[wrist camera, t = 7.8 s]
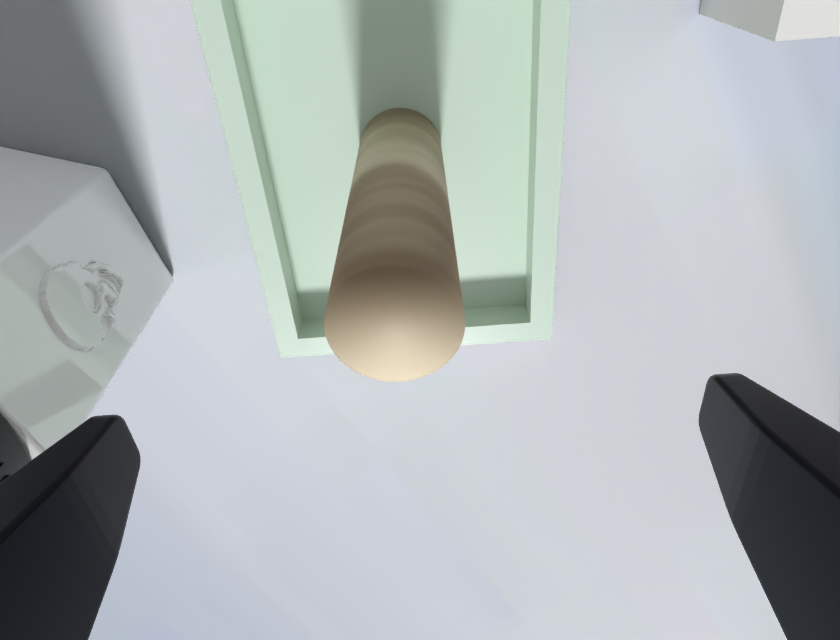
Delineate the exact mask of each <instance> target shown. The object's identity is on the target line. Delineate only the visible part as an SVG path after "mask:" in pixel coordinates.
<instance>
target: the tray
mask: <svg viewBox="0 0 840 640" xmlns="http://www.w3.org/2000/svg"><path fill="white" fill-rule="evenodd" d="M190 3H191V7H192V11H193V15H194V19H195V23H196V27H197V31H198V35H199V38H200V42H201V46H202V50H203V54H204V58H205V62H206V66H207V70H208V74H209V78H210V82H211V86H212V90H213V94H214V97H215V101H216V105H217V109H218V113H219V117H220V121H221V125H222V129H223V133H224V137H225V141H226V145H227V149H228V153H229V157H230V160H231V164H232V168H233V172H234V176H235V180H236V184H237V188H238V192H239V196H240V200H241V204H242V208H243V212H244V216H245V220H246V223H247V227H248V231H249V235H250V239H251V243H252V247H253V251H254V255H255V259H256V263H257V267H258V271H259V275H260V279H261V283H262V286H263V290H264V294H265V298H266V302H267V306H268V310H269V314H270V318H271V322H272V326H273V330H274V334H275V338H276V342H277V346H278V349H279V353H280V357H281V358H285V357H300V356H314V355H329V354H334V352H333V351H332V349H331V348H330V346H329V344H328V342H327V339H326V336H325V332H324V314H325V309H326V304H327V299H328V294H329V290H330V285H331V280H332V275H333V270H334V265H335V261H336V256H337V251H338V246H339V241H340V237H341V232H342V227H343V222H344V217H345V212H346V208H347V203H348V198H349V193H350V188H351V183H352V179H353V174H354V169H355V164H356V159H357V155H358V150H359V145H360V140H361V136H362V133H363V131H364V129H365V127H366V125H367V124H368V123H369V121H370V120H371V119H372V118H374V117H375V116H376V115H377V114H379V113H381V112H383V111H385V110H388V109H392V108H408V109H412V110H415V111H417V112H419V113H421V114H423V115H424V116H425V117H427V118H428V119H429V120H430V121H431V122H432V124H433V125H434V126H435V128H436V130H437V132H438V134H439V137H440V141H441V148H442V155H443V163H444V170H445V177H446V184H447V192H448V199H449V206H450V213H451V221H452V228H453V235H454V243H455V250H456V257H457V264H458V272H459V279H460V286H461V293H462V301H463V308H464V315H465V332H464V337H463V340H462V343H461V345H474V344H489V343H504V342H518V341H533V340H547V339H552V326H553V308H554V291H555V273H556V256H557V239H558V221H559V204H560V187H561V169H562V152H563V135H564V117H565V100H566V83H567V65H568V48H569V31H570V13H571V0H190Z"/></svg>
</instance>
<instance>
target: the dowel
mask: <svg viewBox="0 0 840 640" xmlns="http://www.w3.org/2000/svg"><path fill="white" fill-rule="evenodd" d="M324 332H325V336H326V339H327V342H328V344H329V346H330V348H331V349H332V351H333V352H334V354H335V355H336V356H337V357H338V359H339V360H340V361H342V362H343V363H344V364H345V365H346V366H348V367H349V368H350V369H352V370H354V371H355V372H357V373H359V374H361V375H364V376H366V377H369V378H372V379H376V380H381V381H390V382H401V381H410V380H414V379H418V378H421V377H424V376H427V375H429V374H431V373H433V372H435V371H437V370H438V369H440V368H441V367H443V366H444V365H445V364H446V363H448V362H449V361H450V359H451V358H452V357H453V356H454V355H455V353H456V352H457V351H458V349H459V347H460V345H461V343H462V340H463V337H464V332H465V315H464V308H463V301H462V293H461V286H460V279H459V272H458V264H457V257H456V250H455V243H454V235H453V228H452V221H451V213H450V206H449V199H448V192H447V184H446V177H445V170H444V163H443V155H442V148H441V141H440V137H439V134H438V132H437V130H436V128H435V126H434V125H433V124H432V122H431V121H430V120H429V119H428V118H427V117H425V116H424V115H423V114H421V113H419V112H417V111H415V110H412V109H408V108H392V109H388V110H385V111H383V112H381V113H379V114H377V115H376V116H375V117H374V118H372V119H371V120H370V121H369V123H368V124H367V125H366V127H365V129H364V131H363V133H362V136H361V140H360V145H359V150H358V155H357V159H356V164H355V169H354V174H353V179H352V183H351V188H350V193H349V198H348V203H347V208H346V212H345V217H344V222H343V227H342V232H341V237H340V241H339V246H338V251H337V256H336V261H335V265H334V270H333V275H332V280H331V285H330V290H329V294H328V299H327V304H326V309H325V314H324Z"/></svg>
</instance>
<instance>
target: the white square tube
mask: <svg viewBox="0 0 840 640" xmlns="http://www.w3.org/2000/svg"><path fill="white" fill-rule="evenodd" d="M699 14H701V15H704V16H706V17H709V18H712V19H715V20H717V21H720V22H723V23H726V24H728V25H731V26H734V27H737V28H739V29H742V30H745V31H748V32H750V33H753V34H756V35H759V36H761V37H764V38H767V39H770V40H772V41H786V40H799V39H811V38H823V37H835V36H840V0H701V5H700V11H699Z"/></svg>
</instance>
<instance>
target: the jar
mask: <svg viewBox="0 0 840 640" xmlns="http://www.w3.org/2000/svg"><path fill="white" fill-rule="evenodd" d="M172 285H173V278H172V276H171V274H170V273H169V271H168V269H167V268H166V266H165V264H164V263H163V261H162V260H161V258H160V256H159V255H158V253H157V251H156V250H155V248H154V246H153V245H152V243H151V242H150V240H149V238H148V237H147V235H146V233H145V232H144V230H143V228H142V227H141V225H140V223H139V222H138V220H137V219H136V217H135V215H134V214H133V212H132V210H131V209H130V207H129V205H128V204H127V202H126V200H125V199H124V197H123V195H122V194H121V192H120V191H119V189H118V187H117V186H116V184H115V182H114V181H113V179H112V177H111V176H110V174H109V172H108V171H107V170H105V169H104V168H101V167H96V166H92V165H87V164H82V163H77V162H72V161H68V160H63V159H58V158H53V157H49V156H44V155H39V154H34V153H29V152H25V151H20V150H15V149H10V148H5V147H1V146H0V483H1V482H2V481H3V480H5V479H6V478H8V477H9V476H10V475H12V474H13V473H14V472H16V471H17V470H19V469H20V468H21V467H23V466H24V465H26V464H27V463H28V462H30V461H31V460H32V459H34V458H35V457H37V456H38V455H39V454H41V453H42V452H43V451H45V450H46V449H48V448H49V447H50V446H52V445H53V444H55V443H56V442H57V441H59V440H60V439H61V438H63V437H64V436H66V435H67V434H68V433H70V432H71V431H72V430H74V429H75V428H77V427H78V426H79V425H81V424H82V423H84V422H85V421H86V420H88V419H89V417H90V416H91V414H92V413H93V411H94V409H95V408H96V406H97V405H98V403H99V401H100V400H101V398H102V397H103V395H104V393H105V392H106V390H107V389H108V387H109V385H110V384H111V382H112V381H113V379H114V378H115V376H116V374H117V373H118V371H119V370H120V368H121V366H122V365H123V363H124V362H125V360H126V358H127V357H128V355H129V354H130V352H131V350H132V349H133V347H134V346H135V344H136V342H137V341H138V339H139V338H140V336H141V334H142V333H143V331H144V330H145V328H146V326H147V325H148V323H149V322H150V320H151V318H152V317H153V315H154V314H155V312H156V310H157V309H158V307H159V306H160V304H161V302H162V301H163V299H164V298H165V296H166V294H167V293H168V291H169V290H170V288H171V286H172Z"/></svg>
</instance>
